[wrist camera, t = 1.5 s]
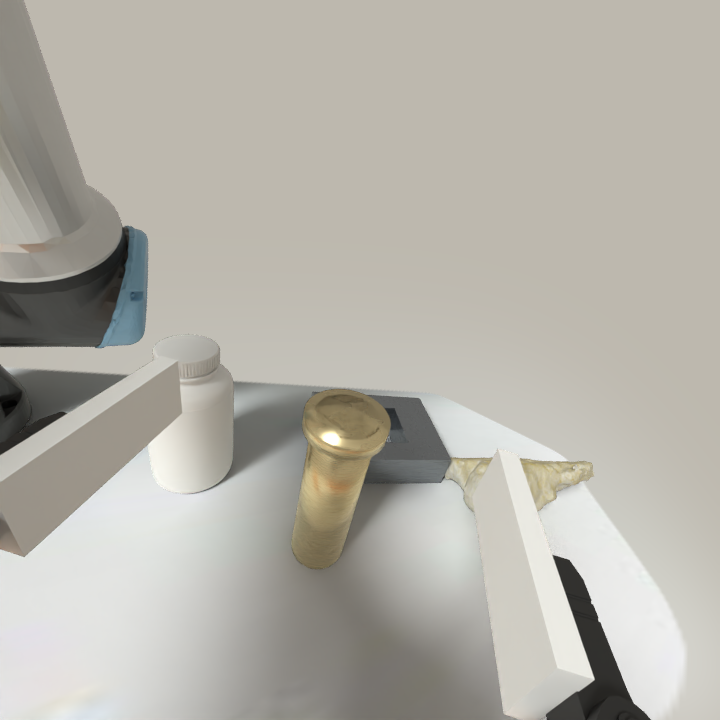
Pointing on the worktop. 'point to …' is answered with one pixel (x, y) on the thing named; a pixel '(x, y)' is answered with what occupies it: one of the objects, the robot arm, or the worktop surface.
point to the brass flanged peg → (334, 470)
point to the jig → (408, 446)
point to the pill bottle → (195, 419)
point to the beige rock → (539, 475)
